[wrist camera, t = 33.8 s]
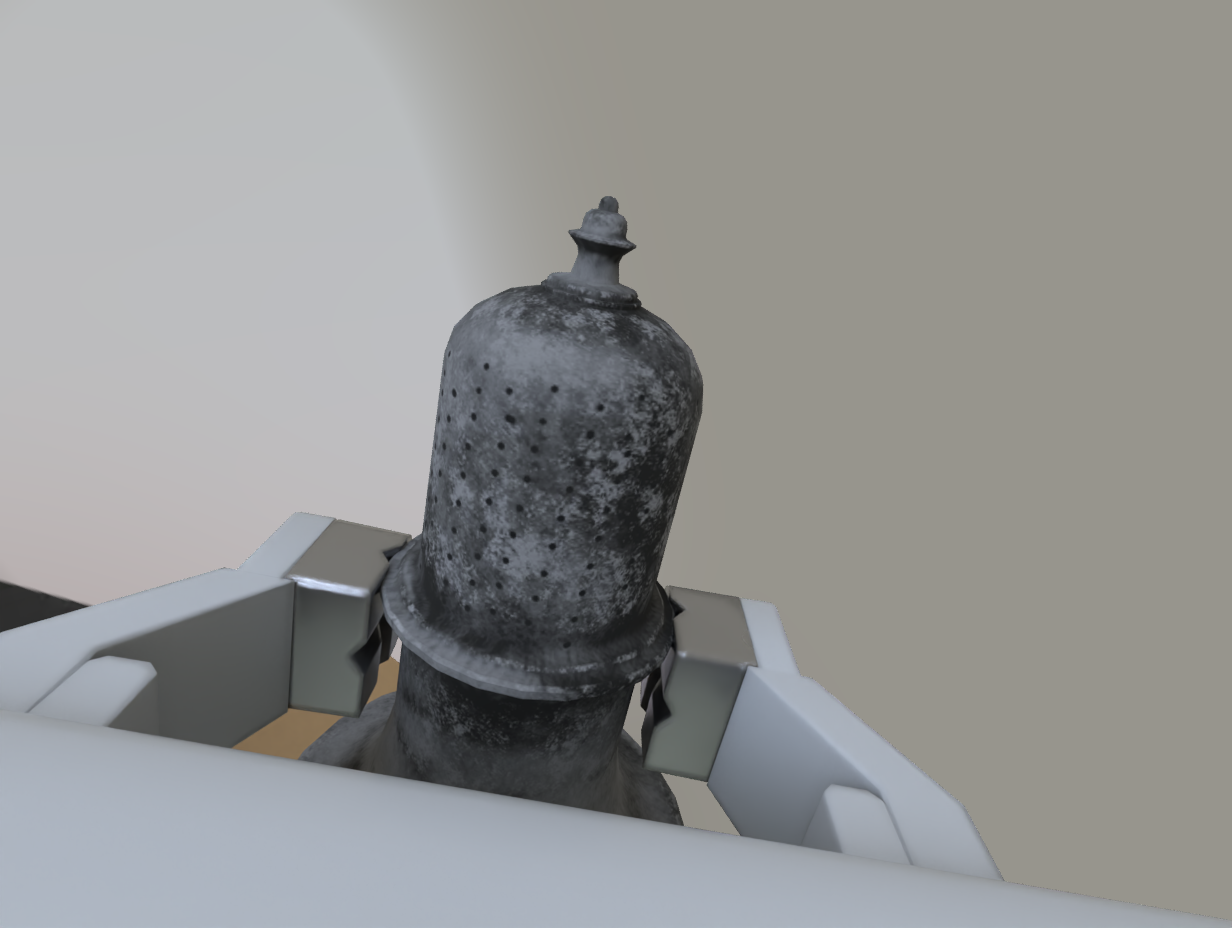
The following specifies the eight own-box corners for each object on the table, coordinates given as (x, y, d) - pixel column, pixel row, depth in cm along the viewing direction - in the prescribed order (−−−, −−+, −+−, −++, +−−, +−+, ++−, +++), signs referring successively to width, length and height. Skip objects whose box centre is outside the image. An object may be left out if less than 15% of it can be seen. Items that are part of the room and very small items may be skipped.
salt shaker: (294, 1364, 8) (401, 174, 3) (228, 887, 12) (235, 108, 7) (709, 1074, 11) (1047, 297, 6) (539, 784, 15) (671, 203, 11)
